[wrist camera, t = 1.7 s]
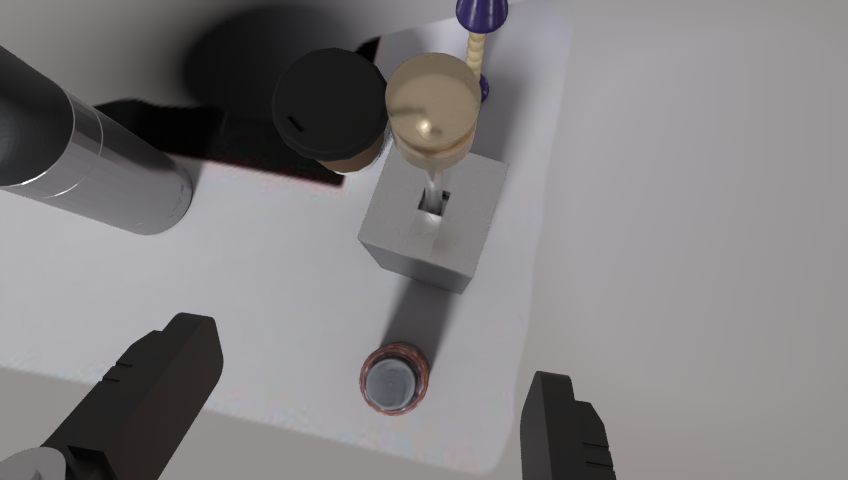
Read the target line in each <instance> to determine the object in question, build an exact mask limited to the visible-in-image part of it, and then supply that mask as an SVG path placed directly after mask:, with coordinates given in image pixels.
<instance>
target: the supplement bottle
mask: <svg viewBox="0 0 848 480" xmlns="http://www.w3.org/2000/svg"><path fill="white" fill-rule="evenodd" d="M428 381H429V365H428V361H427V359H426V357H425V355H424V354H423V353H422V351H421V350H420V349H419V348H417V347H416V346H414V345H412V344H410V343H407V342H394V343H390V344H388V345H385V346H383V347H381V348H379V349H377V350H376V351H374V352H373V353H372V354H371V355H370V356H369V357H368V358H367V359H366V361H365V363H364V365H363V367H362V369H361V373H360V383H359V384H360V389H361V392H362V395H363V397H364V399H365V401H366V402H367V403H368V405H369V406H370V407H371V408H373V409H374V410H376V411H377V412H379V413H382V414H384V415H389V416H398V415H402V414H405V413H407V412H410V411H411V410H413V409H414V408H415V407H416V406H417V405H418V404H419V403H420V402H421V401H422V399H423V398H424V396H425V393H426V391H427V387H428Z"/></svg>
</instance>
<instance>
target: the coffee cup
mask: <svg viewBox="0 0 848 480" xmlns="http://www.w3.org/2000/svg"><path fill="white" fill-rule="evenodd" d="M386 87H387V82H386V81H385V79H384V77H383V76H382V74H381V73H380V71H379V69H378V68H377V66H375V65H374V64H372V63H371V62H370V61H368V60H367V59H365V58H364V57H362V56H361V55H359V54H357V53H355V52H351V51H347V50H343V49H339V48H328V49H320V50H313V51H311V52H309V53H307V54H305V55H304V56H302V57H300V58H298V59H296V60H294V61H293V62H292V63H291V65H290V66H289V67H288V68H287V69H286V70H285V71H284V73H282V74H281V76H280V78H279V81H278V83H277V86H276V89H275V91H274V94H273V98H272V112H273V122H274V124H275V126H276V128H277V129H278V131H279V133H280V135H281V137H282V139H283V140H284V142H285V143H286V144H287V145H289V146H290V147H291V148H293V149H294V150H295V151H297V152H298V153H299V154H301V155H302V156H303V157H307V158H311V159H315V160H317V161H318V162H320V163H321V164H322V165H324V166H325V167H326V168H328V169H329V170H332V171H335V172H336V173H338V174H342V175H346V176H352V175H359V174H362V173H363V172H365V171H367V170H369V169H370V168H371V167H372V166H373V165H374V164H375V162H376V161H377V160H378V157H379V154H380V151H381V147H382V143H383V140H384V130H385V128H386V125H387V121H388V118H389V117H388V112H387V107H386V101H385V93H386Z"/></svg>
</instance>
